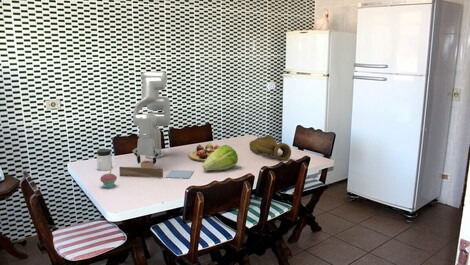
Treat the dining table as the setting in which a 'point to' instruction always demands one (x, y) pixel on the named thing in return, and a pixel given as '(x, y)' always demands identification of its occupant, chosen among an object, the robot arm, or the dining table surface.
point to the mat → (180, 174)
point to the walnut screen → (141, 172)
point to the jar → (104, 159)
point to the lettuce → (221, 159)
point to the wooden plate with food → (202, 152)
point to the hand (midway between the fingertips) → (146, 163)
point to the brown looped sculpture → (270, 147)
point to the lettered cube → (147, 164)
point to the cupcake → (108, 179)
